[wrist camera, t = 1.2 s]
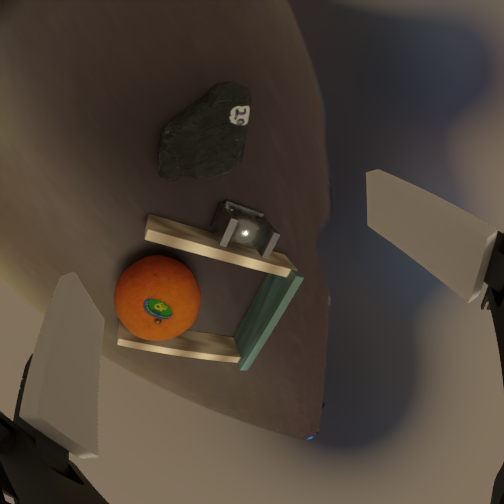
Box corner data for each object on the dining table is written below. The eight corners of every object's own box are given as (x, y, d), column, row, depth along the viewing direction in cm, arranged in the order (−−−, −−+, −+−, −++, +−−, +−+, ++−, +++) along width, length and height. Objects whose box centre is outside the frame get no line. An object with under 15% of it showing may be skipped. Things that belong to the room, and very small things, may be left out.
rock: (244, 84, 28) (260, 80, 23) (237, 170, 33) (251, 183, 28) (162, 81, 26) (161, 75, 21) (159, 171, 31) (158, 185, 26)
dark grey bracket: (209, 227, 35) (217, 248, 31) (221, 197, 34) (232, 214, 29) (251, 240, 38) (266, 262, 33) (265, 213, 37) (281, 231, 32)
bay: (119, 322, 38) (116, 352, 33) (148, 213, 32) (147, 235, 27) (236, 343, 46) (247, 370, 41) (285, 254, 41) (303, 277, 36)
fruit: (181, 318, 41) (188, 359, 34) (111, 302, 36) (106, 344, 29) (207, 255, 37) (219, 292, 30) (128, 233, 33) (122, 268, 26)
